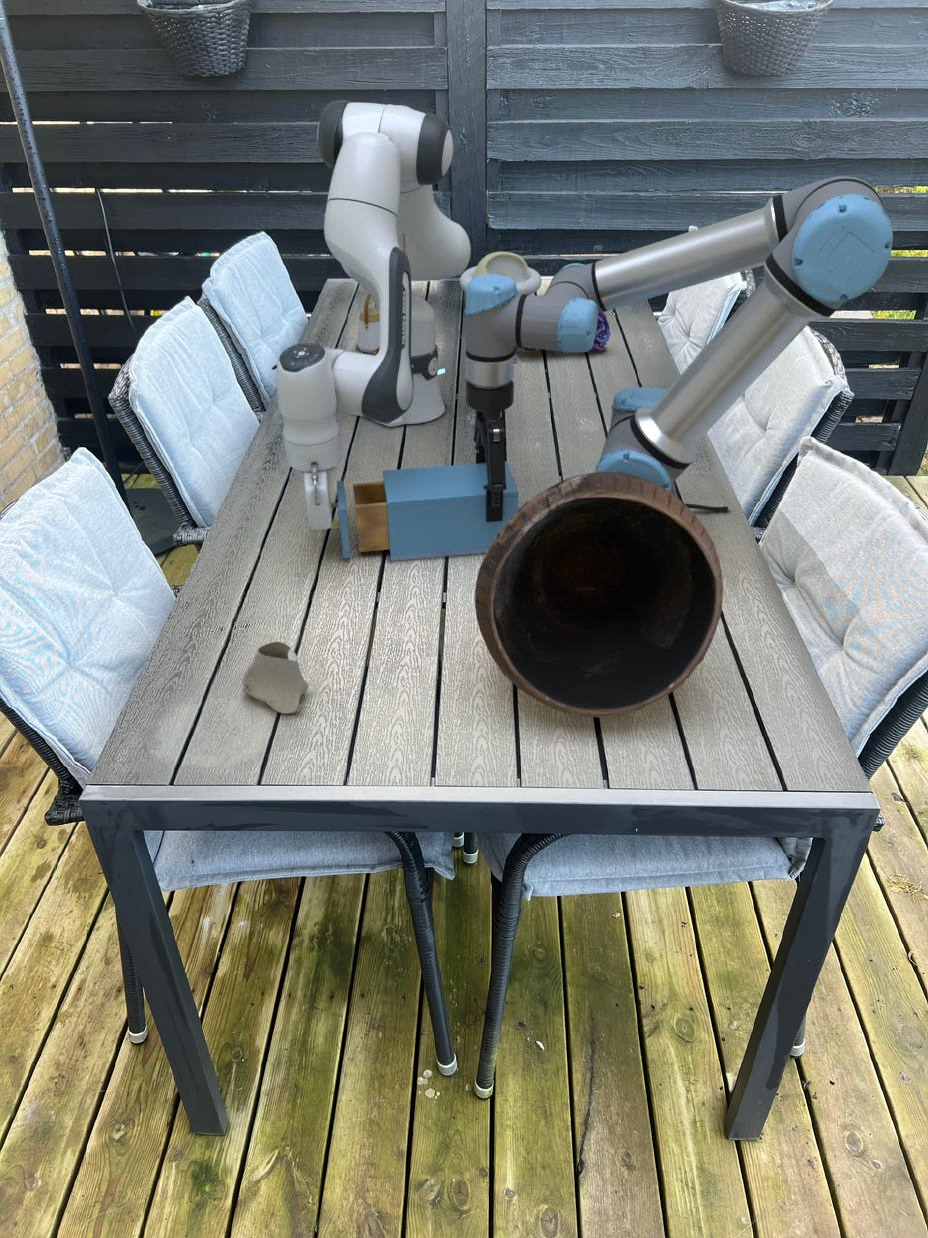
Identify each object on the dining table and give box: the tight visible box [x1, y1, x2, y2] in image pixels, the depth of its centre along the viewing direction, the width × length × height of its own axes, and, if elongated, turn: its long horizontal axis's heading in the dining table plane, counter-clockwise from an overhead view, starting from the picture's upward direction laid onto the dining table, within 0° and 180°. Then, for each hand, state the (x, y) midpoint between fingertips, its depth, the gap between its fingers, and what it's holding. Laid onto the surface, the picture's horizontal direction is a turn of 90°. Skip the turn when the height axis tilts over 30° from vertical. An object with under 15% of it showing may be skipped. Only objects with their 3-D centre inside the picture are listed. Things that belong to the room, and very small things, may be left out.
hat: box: [459, 251, 543, 295], centre depth 248 cm, size 25×22×15 cm
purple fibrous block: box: [515, 312, 611, 354], centre depth 226 cm, size 13×11×30 cm
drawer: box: [307, 480, 390, 559], centre depth 157 cm, size 25×10×9 cm, turn 98°
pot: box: [474, 471, 724, 718], centre depth 130 cm, size 32×32×30 cm
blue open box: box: [382, 460, 520, 562], centre depth 158 cm, size 22×11×11 cm, turn 98°
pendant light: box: [356, 293, 380, 354], centre depth 223 cm, size 8×8×30 cm
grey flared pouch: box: [241, 641, 309, 715], centre depth 126 cm, size 9×8×10 cm
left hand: (322, 523), depth 156 cm, fingers closed, pressing on drawer
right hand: (488, 502), depth 158 cm, fingers closed on blue open box, 11 cm apart
